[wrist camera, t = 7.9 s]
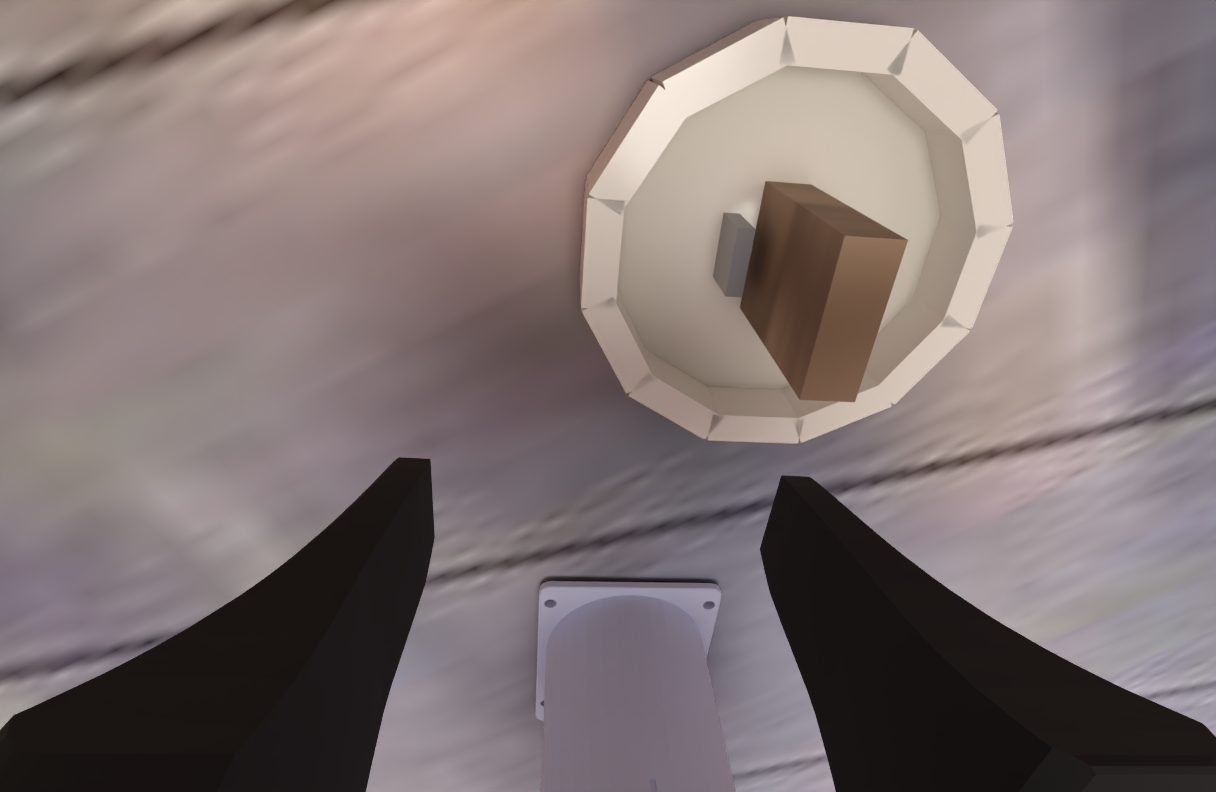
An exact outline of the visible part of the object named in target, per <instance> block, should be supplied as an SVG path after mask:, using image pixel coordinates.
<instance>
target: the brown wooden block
mask: <svg viewBox="0 0 1216 792" xmlns="http://www.w3.org/2000/svg"><path fill="white" fill-rule="evenodd" d="M907 242H908V240H907V239H905V238H904V237H902V236H900V235H898V234H897V233H895V232H893V231H891V230H890V229H888V228H886V227H884V226H883V225H881V224H879V223H878V222H876V221H874V220H872V219H871V218H869V217H867V216H865V215H864V214H862V213H860V212H858V211H857V210H855V209H853V208H851V207H850V206H848V205H846V204H844V203H843V202H841V201H839V200H837V199H836V198H834V197H832V196H830V195H829V194H827V193H825V192H824V191H822V190H820V189H818V188H817V187H815V186H813V185H811V184H799V183H786V182H773V181H765V186H764V191H763V196H762V201H761V206H760V211H759V216H758V221H757V226H756V230H755V235H754V240H753V245H752V250H751V255H750V260H749V265H748V270H747V275H746V280H745V285H744V290H743V295H742V299H741V304H740V309H741V310H742V312H743V313H744V315H745V317H746V318H747V320H748V321H749V323H750V324H751V326H752V327H753V329H754V330H755V332H756V333H757V335H758V337H759V338H760V340H761V341H762V343H763V344H764V346H765V347H766V349H767V350H768V352H769V353H770V355H771V357H772V358H773V360H774V361H775V363H776V364H777V366H778V367H779V369H780V370H781V372H782V374H783V375H784V377H785V378H786V380H787V381H788V383H789V384H790V386H791V387H792V389H793V390H794V392H795V394H796V395H797V397H798V398H799V400H815V401H836V402H855V401H856V398H857V394H858V391H859V388H860V385H861V382H862V379H863V376H864V373H865V370H866V367H867V364H868V361H869V358H870V355H871V352H872V349H873V346H874V343H875V340H876V337H877V334H878V331H879V328H880V324H881V321H882V318H883V315H884V312H885V309H886V306H887V303H888V300H889V297H890V294H891V291H892V288H893V285H894V282H895V279H896V276H897V273H898V270H899V267H900V264H901V261H902V258H903V255H904V251H905V248H906V245H907Z"/></svg>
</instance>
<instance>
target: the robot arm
mask: <svg viewBox="0 0 1216 792" xmlns="http://www.w3.org/2000/svg"><path fill="white" fill-rule="evenodd" d="M434 538H435V537H434V518H433V500H432V481H431V463H430V459H420V458H398V459H396V460H395V461H394V462H393V463H392V464H391V465H390V466H389V467H388V468H387V469H386V470H385V471H384V472H383V473H382V474H381V475H380V476H379V477H378V478H377V479H376V480H375V482H374V483H373V484H372V485H371V486H370V487H369V488H368V489H367V490H366V491H365V492H364V493H363V494H362V495H361V496H360V497H359V498H358V499H357V500H356V501H355V502H353V503H352V504H351V505H350V506H349V507H348V508H347V509H346V510H345V511H344V512H343V513H342V514H341V515H340V516H339V517H338V518H337V519H336V520H334V521H333V522H332V523H331V524H330V525H329V526H328V527H327V528H326V529H325V530H323V531H322V532H321V533H320V534H319V535H318V536H316V537H315V538H314V539H313V540H312V541H311V542H309V543H308V544H307V545H306V546H305V547H304V548H302V549H301V550H300V551H299V552H298V553H297V554H295V555H294V556H293V557H292V558H290V559H289V560H288V561H287V562H285V563H284V564H283V565H281V566H280V567H279V568H278V569H276V570H275V571H274V572H272V573H271V574H270V575H268V576H267V577H266V578H264V579H263V580H261V581H260V582H259V583H257V584H256V585H255V586H253V587H252V588H250V589H249V590H247V591H246V592H245V593H243V594H242V595H240V596H239V597H237V598H235V599H234V600H232V601H231V602H229V603H227V604H226V605H224V606H223V607H221V608H219V609H218V610H216V611H215V612H213V613H211V614H210V615H208V616H207V617H205V618H204V619H202V620H200V621H199V622H197V623H196V624H194V625H192V626H191V627H189V628H187V629H186V630H184V631H182V632H181V633H179V634H177V635H175V636H173V637H172V638H170V639H168V640H166V641H165V642H163V643H161V644H159V645H157V646H156V647H154V648H152V649H150V650H148V651H146V652H145V653H143V654H141V655H139V656H137V657H135V658H133V659H131V660H129V661H127V662H126V663H124V664H122V665H120V666H118V667H116V668H114V669H112V670H110V671H108V672H106V673H104V674H102V675H100V676H98V677H96V678H94V679H91V680H89V681H87V682H85V683H83V684H81V685H79V686H77V687H74V688H72V689H70V690H68V691H66V692H64V693H62V694H59V695H57V696H55V697H53V698H51V699H49V700H47V701H44V702H42V703H40V704H38V705H36V706H34V707H31V708H29V709H27V710H25V711H22V712H20V713H18V714H16V715H14V716H13V717H12V718H11V719H10V720H9V721H8V722H7V723H6V724H5V725H4V726H3V728H2V729H1V730H0V792H366V788H367V783H368V778H369V774H370V769H371V765H372V760H373V756H374V751H375V747H376V743H377V738H378V734H379V730H380V725H381V721H382V717H383V712H384V709H385V705H386V702H387V698H388V695H389V691H390V688H391V685H392V682H393V679H394V676H395V673H396V670H397V667H398V664H399V661H400V658H401V655H402V652H403V649H404V646H405V643H406V640H407V637H408V634H409V631H410V628H411V625H412V622H413V619H414V616H415V613H416V610H417V607H418V604H419V601H420V598H421V595H422V592H423V589H424V586H425V582H426V578H427V573H428V568H429V563H430V558H431V553H432V548H433V543H434ZM760 551H761V556H762V561H763V565H764V570H765V574H766V578H767V582H768V586H769V590H770V594H771V597H772V599H773V602H774V605H775V607H776V610H777V613H778V615H779V618H780V621H781V623H782V626H783V629H784V631H785V634H786V637H787V639H788V642H789V644H790V647H791V649H792V652H793V655H794V657H795V660H796V662H797V665H798V668H799V670H800V673H801V675H802V678H803V681H804V683H805V686H806V688H807V691H808V694H809V697H810V700H811V703H812V706H813V709H814V711H815V714H816V718H817V722H818V725H819V729H820V732H821V736H822V740H823V743H824V747H825V751H826V754H827V758H828V762H829V766H830V770H831V774H832V778H833V782H834V786H835V790H836V792H1216V737H1215V736H1214V735H1213V734H1212V733H1211V731H1210V730H1209V729H1208V728H1207V727H1206V726H1205V725H1203V724H1202V723H1200V722H1198V721H1196V720H1193V719H1191V718H1189V717H1187V716H1184V715H1182V714H1180V713H1178V712H1175V711H1173V710H1171V709H1168V708H1166V707H1164V706H1162V705H1159V704H1157V703H1155V702H1153V701H1150V700H1148V699H1146V698H1143V697H1141V696H1139V695H1137V694H1134V693H1132V692H1130V691H1128V690H1125V689H1123V688H1121V687H1119V686H1117V685H1115V684H1113V683H1111V682H1109V681H1107V680H1105V679H1103V678H1101V677H1099V676H1097V675H1095V674H1093V673H1091V672H1089V671H1087V670H1085V669H1083V668H1081V667H1079V666H1077V665H1075V664H1073V663H1071V662H1069V661H1067V660H1065V659H1063V658H1061V657H1060V656H1058V655H1056V654H1054V653H1052V652H1050V651H1048V650H1046V649H1045V648H1043V647H1041V646H1039V645H1038V644H1036V643H1034V642H1032V641H1031V640H1029V639H1027V638H1025V637H1024V636H1022V635H1020V634H1018V633H1017V632H1015V631H1013V630H1012V629H1010V628H1008V627H1006V626H1005V625H1003V624H1001V623H1000V622H998V621H997V620H995V619H993V618H992V617H990V616H988V615H987V614H985V613H984V612H982V611H981V610H979V609H978V608H976V607H975V606H973V605H972V604H970V603H969V602H967V601H966V600H964V599H963V598H961V597H960V596H958V595H957V594H955V593H954V592H952V591H951V590H949V589H948V588H946V587H945V586H944V585H942V584H941V583H939V582H938V581H937V580H935V579H934V578H932V577H931V576H930V575H928V574H927V573H926V572H925V571H923V570H922V569H921V568H919V567H918V566H917V565H915V564H914V563H913V562H911V561H910V560H909V559H907V558H906V557H905V556H904V555H902V554H901V553H900V552H899V551H897V550H896V549H895V548H894V547H892V546H891V545H890V544H889V543H888V542H886V541H885V540H884V539H883V538H881V537H880V536H879V535H878V534H877V533H876V532H874V531H873V530H872V529H871V528H870V527H868V526H867V525H866V524H865V523H864V522H863V521H861V520H860V519H859V518H858V517H857V516H856V515H854V514H853V513H852V512H851V511H850V510H849V509H848V508H846V507H845V506H844V505H843V504H842V503H841V502H839V501H838V500H837V499H836V498H835V497H834V496H833V495H831V494H830V493H829V492H828V491H827V490H825V489H824V488H823V487H822V486H821V485H819V484H818V483H817V482H816V481H814V480H813V479H812V478H810V477H801V476H781V479H780V482H779V486H778V489H777V493H776V496H775V499H774V503H773V506H772V510H771V513H770V516H769V520H768V523H767V527H766V530H765V533H764V537H763V540H762V543H761V547H760ZM721 597H722V594H721V590H720V588H719V586H718V585H716V584H713V583H660V582H584V581H548V582H545V583H543V584H542V585H541V586H540V589H539V611H538V645H537V678H536V712H535V715H536V718H537V719H538V720H541V721H543V746H542V772H541V792H736V791H735V786H734V782H733V778H732V773H731V769H730V764H729V760H728V755H727V751H726V746H725V742H724V737H723V733H722V728H721V724H720V719H719V715H718V710H717V706H716V701H715V697H714V692H713V688H712V683H711V679H710V674H709V670H708V666H707V661H706V660H707V655H708V651H709V647H710V643H711V639H712V635H713V630H714V626H715V622H716V618H717V614H718V610H719V606H720V601H721ZM550 599H551V600H553V601H548V600H550ZM708 601H710V602H708Z"/></svg>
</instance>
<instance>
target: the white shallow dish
mask: <svg viewBox="0 0 1216 792" xmlns="http://www.w3.org/2000/svg"><path fill="white" fill-rule="evenodd" d="M913 29H914V28H905V27H895V26H884V25H874V24H864V23H853V22H843V21H832V20H822V19H812V18H801V17H791V16H786V17H779V18H771V19H764V20H759V21H754V22H752V23H750V24H749V25H747V26H745V27H743V28H741V29H739V30H737V31H736V32H734V33H732V34H730V35H728V36H726V37H724V38H722V39H721V40H719V41H717V42H715V43H713V44H711V45H709V46H708V47H706V48H704V49H702V50H700V51H698V52H696V53H695V54H693V55H691V56H689V57H687V58H685V59H683V60H681V61H680V62H678V63H676V64H674V65H672V66H670V67H668V68H667V69H665V70H663V71H661V72H659V73H657V74H655V75H653V76H652V77H651V79H652V82H651V81H649V80H647V82H646V83H645V85H644V86H643V88H642V89H641V91H640V93H639V94H638V96H637V97H636V99H635V100H634V102H633V104H632V105H631V107H630V108H629V110H628V112H627V113H626V115H625V116H624V118H623V119H622V121H621V123H620V124H619V126H618V127H617V129H616V130H615V132H614V134H613V135H612V137H611V138H610V140H609V141H608V143H607V145H606V146H605V148H604V149H603V151H602V153H601V154H600V156H599V157H598V159H597V160H596V162H595V164H594V165H593V167H592V168H591V170H590V171H589V173H588V175H587V176H586V177H587V180H585V193H584V211H583V229H582V247H581V264H580V298H581V308H582V313H583V315H584V317H585V318H586V320H587V322H588V324H589V326H590V328H591V329H592V331H593V333H594V335H595V337H596V339H597V341H598V342H599V344H600V346H601V348H602V350H603V352H604V354H605V355H606V357H607V359H608V361H609V363H610V365H611V367H612V368H613V370H614V372H615V374H616V376H617V378H618V379H619V381H620V383H621V385H622V387H623V389H624V391H625V392H626V394H627V393H628V396H629V397H631V398H633V399H635V400H636V401H638V402H640V403H641V404H643V405H645V406H647V407H648V408H650V409H652V410H654V411H655V412H657V413H659V414H661V415H662V416H664V417H666V418H668V419H669V420H671V421H673V422H675V423H676V424H678V425H680V426H681V427H683V428H685V429H687V430H688V431H690V432H692V433H694V434H695V435H697V436H699V437H701V438H702V439H704V440H705V439H706V438H707V440H708V441H736V442H766V443H796V444H798V442H799V440H800V442H801V443H802V442H805V441H807V440H810V439H812V438H815V437H817V436H820V435H822V434H825V433H827V432H830V431H832V430H835V429H837V428H840V427H842V426H845V425H847V424H849V423H852V422H854V421H857V420H859V419H862V418H864V417H867V416H869V415H872V414H874V413H877V412H879V411H882V410H884V409H887V408H889V407H892V406H891V402H892V403H893V404H896V403H897V402H898V401H899V400H900V399H901V398H902V397H903V396H904V395H905V394H906V393H907V392H908V391H909V390H910V389H911V388H912V387H913V386H914V385H915V384H916V383H917V382H918V381H919V380H920V379H921V378H922V377H923V376H924V375H926V374H927V373H928V372H929V371H930V370H931V369H932V368H933V367H934V366H935V365H936V364H937V363H938V362H939V361H940V360H941V359H942V358H943V357H944V356H945V355H946V354H947V353H948V352H949V351H950V350H951V349H952V348H953V347H954V346H955V345H956V344H957V343H958V342H959V341H960V340H961V339H963V338H964V337H965V336H966V335H967V334H968V333H969V332H970V331H969V330H967V329H966V328H972V327H973V325H974V322H975V320H976V317H977V315H978V312H979V310H980V307H981V305H982V302H983V300H984V297H985V295H986V292H987V290H988V287H989V285H990V282H991V280H992V277H993V275H994V273H995V270H996V268H997V265H998V263H999V260H1000V258H1001V255H1002V253H1003V250H1004V248H1005V245H1006V243H1007V240H1008V238H1009V235H1010V233H1011V230H1012V228H1013V227H1012V226H1010V224H1012V223H1014V222H1013V215H1012V207H1011V199H1010V192H1009V184H1008V176H1007V169H1006V161H1005V153H1004V146H1003V138H1002V130H1001V123H1000V115H999V114H998V113H996V111H997V109H996V108H995V107H994V106H993V105H992V104H991V103H990V102H989V101H988V100H987V99H986V98H985V97H984V96H983V95H982V94H981V93H980V92H979V91H978V90H977V89H976V88H975V87H974V86H973V85H972V84H971V83H970V82H969V81H968V80H967V79H966V78H965V77H964V76H963V75H962V74H961V73H960V72H959V71H958V70H957V69H956V68H955V67H954V66H953V65H952V64H951V63H950V62H949V61H948V60H947V59H946V58H945V57H944V56H943V55H942V54H941V53H940V52H939V51H938V50H937V49H936V48H935V47H934V46H933V45H932V44H931V43H930V42H929V41H928V40H927V39H926V38H925V37H924V36H923V35H922V34H921V33H920V32H919V31H918V30H913ZM765 181H773V182H786V183H799V184H811V185H813V186H815V187H817V188H818V189H820V190H822V191H824V192H825V193H827V194H829V195H830V196H832V197H834V198H836V199H837V200H839V201H841V202H843V203H844V204H846V205H848V206H850V207H851V208H853V209H855V210H857V211H858V212H860V213H862V214H864V215H865V216H867V217H869V218H871V219H872V220H874V221H876V222H878V223H879V224H881V225H883V226H884V227H886V228H888V229H890V230H891V231H893V232H895V233H897V234H898V235H900V236H902V237H904V238H905V239H907V240H908V242H907V245H906V248H905V251H904V255H903V258H902V261H901V264H900V267H899V270H898V273H897V276H896V279H895V282H894V285H893V288H892V291H891V294H890V297H889V300H888V303H887V306H886V309H885V312H884V315H883V318H882V321H881V324H880V328H879V331H878V334H877V337H876V340H875V343H874V346H873V349H872V352H871V355H870V358H869V361H868V364H867V367H866V370H865V373H864V376H863V379H862V382H861V385H860V388H859V391H858V394H857V398H856V401H855V402H836V401H815V400H799V398H798V397H797V395H796V394H795V392H794V390H793V389H792V387H791V386H790V384H789V383H788V381H787V380H786V378H785V377H784V375H783V374H782V372H781V370H780V369H779V367H778V366H777V364H776V363H775V361H774V360H773V358H772V357H771V355H770V353H769V352H768V350H767V349H766V347H765V346H764V344H763V343H762V341H761V340H760V338H759V337H758V335H757V333H756V332H755V330H754V329H753V327H752V326H751V324H750V323H749V321H748V320H747V318H746V317H745V315H744V313H743V312H742V310H741V309H740V304H741V299H742V295H743V290H744V285H745V280H746V275H747V270H748V265H749V260H750V255H751V250H752V245H753V240H754V235H755V230H756V226H757V221H758V216H759V211H760V206H761V201H762V196H763V191H764V186H765Z"/></svg>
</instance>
